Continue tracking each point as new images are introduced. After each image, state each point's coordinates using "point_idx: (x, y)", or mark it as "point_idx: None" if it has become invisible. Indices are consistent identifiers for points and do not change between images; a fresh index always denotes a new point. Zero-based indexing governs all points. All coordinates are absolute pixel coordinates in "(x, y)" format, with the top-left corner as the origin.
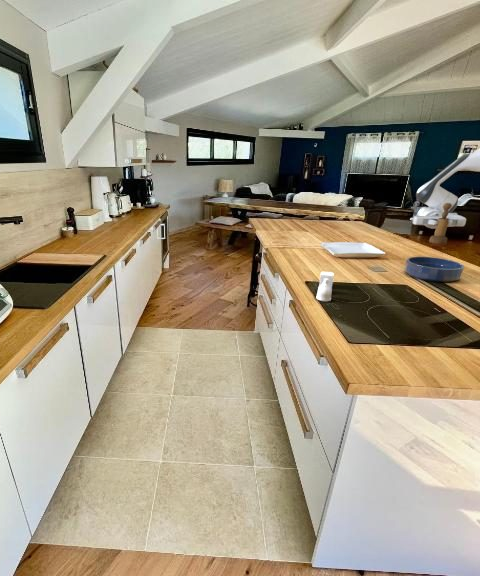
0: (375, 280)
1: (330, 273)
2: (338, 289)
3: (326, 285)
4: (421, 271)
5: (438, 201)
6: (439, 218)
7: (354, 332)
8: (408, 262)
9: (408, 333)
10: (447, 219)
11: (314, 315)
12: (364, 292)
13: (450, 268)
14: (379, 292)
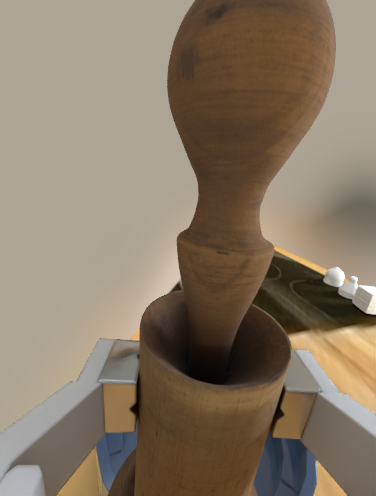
0: (323, 348)
1: (372, 291)
2: (342, 303)
3: (336, 267)
4: None
5: None
6: (274, 363)
7: (274, 254)
8: None
9: None
10: (180, 294)
11: (312, 264)
12: (306, 300)
13: (122, 452)
14: (289, 303)
